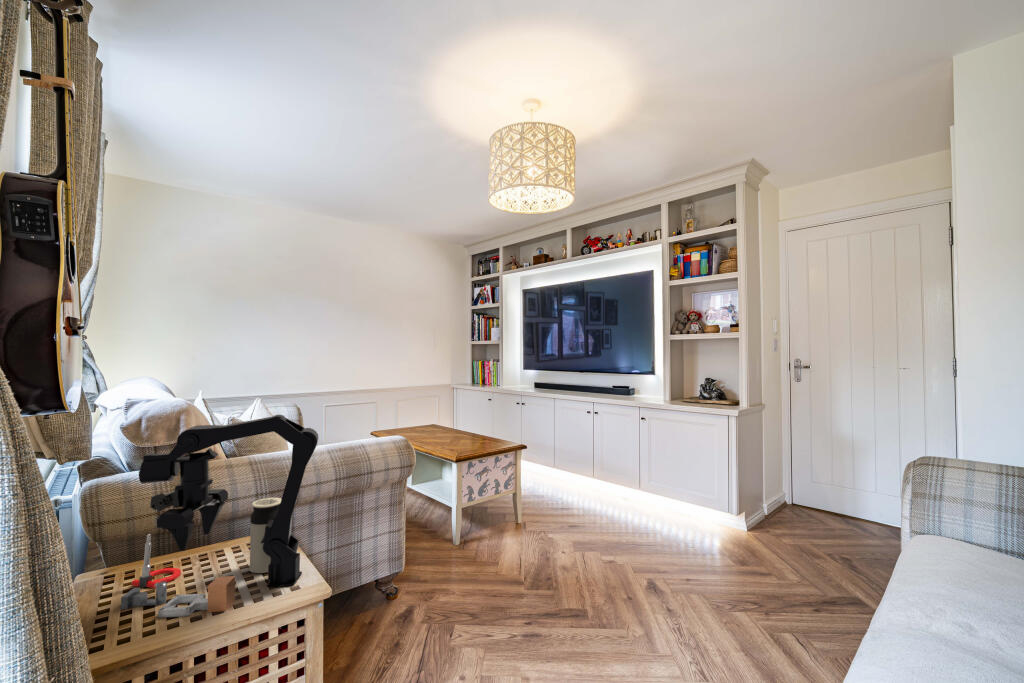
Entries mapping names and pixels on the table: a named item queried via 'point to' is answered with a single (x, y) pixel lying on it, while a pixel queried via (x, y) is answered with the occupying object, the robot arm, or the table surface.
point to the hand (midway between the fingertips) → (195, 541)
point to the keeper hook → (144, 597)
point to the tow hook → (147, 575)
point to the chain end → (203, 599)
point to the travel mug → (261, 532)
